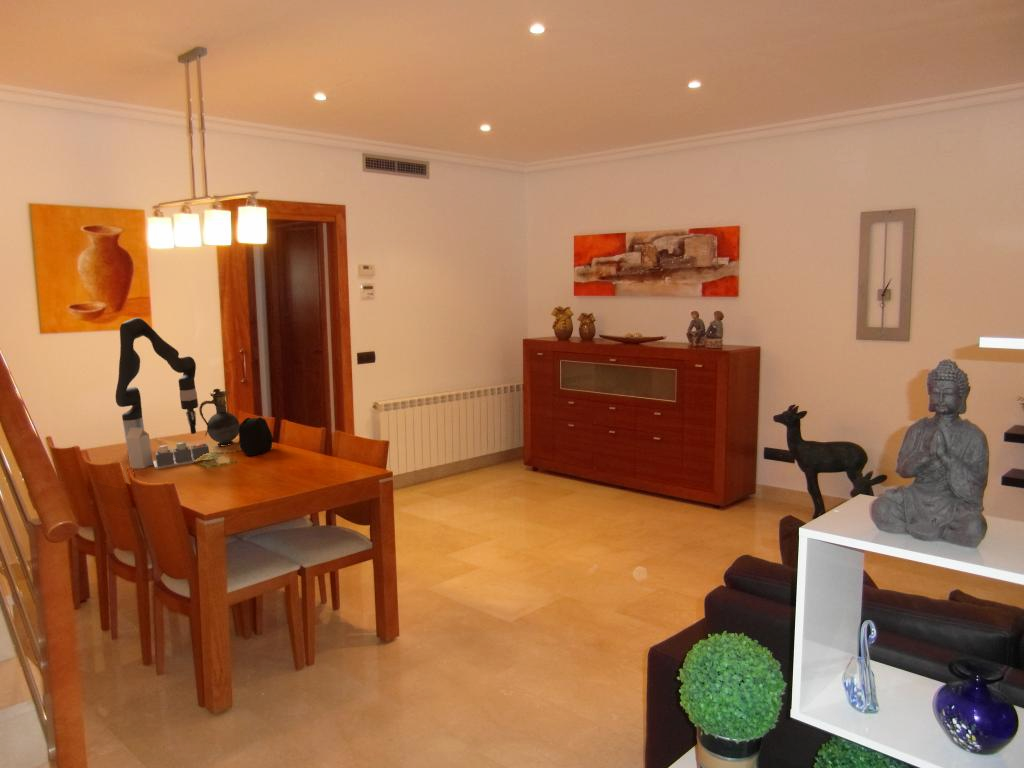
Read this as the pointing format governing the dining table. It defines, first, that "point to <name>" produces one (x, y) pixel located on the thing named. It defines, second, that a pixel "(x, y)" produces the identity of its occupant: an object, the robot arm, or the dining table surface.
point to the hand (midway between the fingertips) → (193, 433)
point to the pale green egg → (181, 446)
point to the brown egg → (199, 445)
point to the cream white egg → (163, 449)
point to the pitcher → (221, 420)
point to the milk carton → (139, 448)
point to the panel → (179, 457)
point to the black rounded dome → (255, 436)
